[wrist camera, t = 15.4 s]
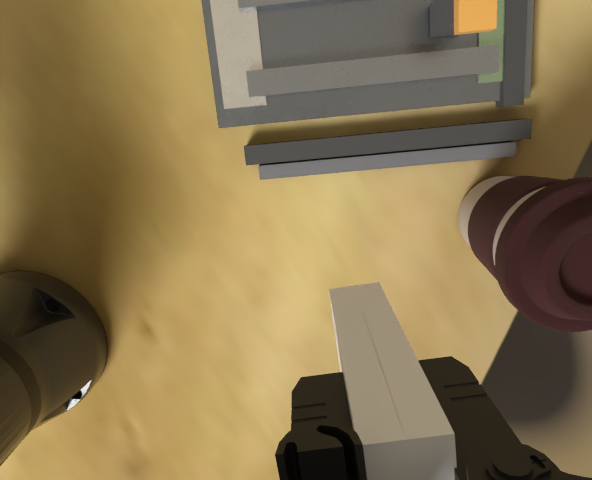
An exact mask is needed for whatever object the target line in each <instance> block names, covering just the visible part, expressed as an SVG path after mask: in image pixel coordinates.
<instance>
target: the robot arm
mask: <svg viewBox="0 0 592 480" xmlns="http://www.w3.org/2000/svg"><path fill="white" fill-rule="evenodd" d="M329 294H330V301H331V308H332V315H333V323H334V330H335V337H336V344H337V352H338V359H339V366H340V372H339V373H331V374H323V375H316V376H308V377H301V378H300V380H299V381H298V383H297V384H296V386H295V388H294V389H293V391H292V415H291V421H292V423H291V431H289V432H288V433H287V434H286V435H285V437H284V438H283V439H282V440H281V441H280V442H279V445H278V448H277V451H276V454H275V456H276V462H277V467H278V472H279V477H280V480H592V478H587V477H581V476H577V475H572V474H568V473H565V472H562V471H560V470H559V468H558V467H557V466H556V465H555V464H554V463H553V462H552V461H551V460H550V459H549V458H548V457H547V456H546V455H545V454H543V453H541V452H539V451H538V450H535V449H534V448H531V447H530V446H528V445H524V444H521V442H520V441H519V439H518V438H517V437H516V435H515V434H514V432H513V431H512V429H511V428H510V427H509V425H508V424H507V422H506V421H505V419H504V418H503V416H502V415H501V413H500V412H499V411H498V409H497V408H496V406H495V405H494V403H493V402H492V400H491V399H490V397H488V396H487V393H486V392H485V390H484V389H483V387H482V386H481V384H480V385H479V382H478V380H477V379H476V377H475V376H474V374H473V373H472V371H471V370H470V369H469V367H467V366H466V365H464V364H463V363H461V362H459V361H458V360H456V359H455V358H453V357H452V356H450V357H442V358H434V359H427V360H419V361H418V360H417V358H416V356H415V354H414V352H413V350H412V348H411V346H410V344H409V342H408V340H407V338H406V336H405V334H404V332H403V330H402V328H401V326H400V324H399V322H398V320H397V318H396V316H395V314H394V312H393V310H392V308H391V306H390V304H389V302H388V300H387V298H386V296H385V294H384V292H383V290H382V288H381V286H380V284H379V282H378V283H370V284H363V285H356V286H349V287H341V288H334V289H329ZM106 358H107V342H106V336H105V332H104V329H103V326H102V324H101V322H100V320H99V318H98V316H97V314H96V313H95V311H94V310H93V308H92V307H91V306H90V304H89V303H88V302H87V301H86V300H85V299H84V298H83V297H82V296H81V295H80V294H79V293H78V292H76V291H75V290H74V289H73V288H71V287H70V286H68V285H67V284H65V283H63V282H61V281H59V280H57V279H55V278H53V277H50V276H47V275H44V274H40V273H36V272H29V271H11V272H5V273H1V274H0V466H1V465H2V464H3V462H4V461H5V460H6V459H7V458H8V457H9V455H10V454H11V453H12V452H13V451H14V450H15V448H16V447H17V446H18V445H19V444H20V442H21V441H22V440H23V439H24V438H25V437H26V436H27V435H28V433H29V432H30V431H31V430H33V429H35V428H37V427H39V426H40V425H42V424H44V423H46V422H48V421H49V420H51V419H53V418H55V417H57V416H59V415H60V414H62V413H64V412H66V411H68V410H69V409H71V408H72V407H74V406H75V405H77V404H78V403H79V402H80V401H81V400H82V399H83V398H84V397H85V396H86V395H87V394H88V392H89V391H90V390H91V389H92V388H93V386H94V385H95V384H96V383H97V381H98V380H99V378H100V376H101V374H102V372H103V370H104V367H105V363H106Z"/></svg>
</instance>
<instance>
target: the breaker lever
mask: <svg viewBox="0 0 592 480" xmlns="http://www.w3.org/2000/svg"><path fill="white" fill-rule="evenodd" d="M496 28H497V0H434V1H433V2H432V3H431V4H430V38H435V37H444V36H453V35H461V34H469V33H479V32H488V31H492V30H494V29H496Z"/></svg>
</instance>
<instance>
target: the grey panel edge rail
mask: <svg viewBox="0 0 592 480" xmlns="http://www.w3.org/2000/svg"><path fill="white" fill-rule="evenodd" d="M527 3H528V0H505V36H504V74H503V81H502V100H500V101H496V107H503V106H513V105H524V81H525V55H526V29H527Z"/></svg>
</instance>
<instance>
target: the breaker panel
mask: <svg viewBox="0 0 592 480" xmlns="http://www.w3.org/2000/svg"><path fill="white" fill-rule="evenodd" d="M433 1H434V0H202V7H203V15H204V22H205V30H206V37H207V44H208V52H209V59H210V66H211V74H212V81H213V88H214V96H215V103H216V110H217V118H218V125H219V128H225V127H235V126H245V125H255V124H265V123H276V122H286V121H296V120H306V119H316V118H326V117H337V116H347V115H357V114H367V113H377V112H388V111H398V110H408V109H418V108H428V107H438V106H449V105H459V104H469V103H479V102H489V101H500V100H502V81H503V74H504V36H505V0H497V28H496V29H494V30H492V31H488V32H479V33H469V34H461V35H453V36H444V37H435V38H430V4H431V3H432V2H433ZM533 20H534V0H528V3H527V29H526V55H525V81H524V98H530V92H531V68H532V44H533Z"/></svg>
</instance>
